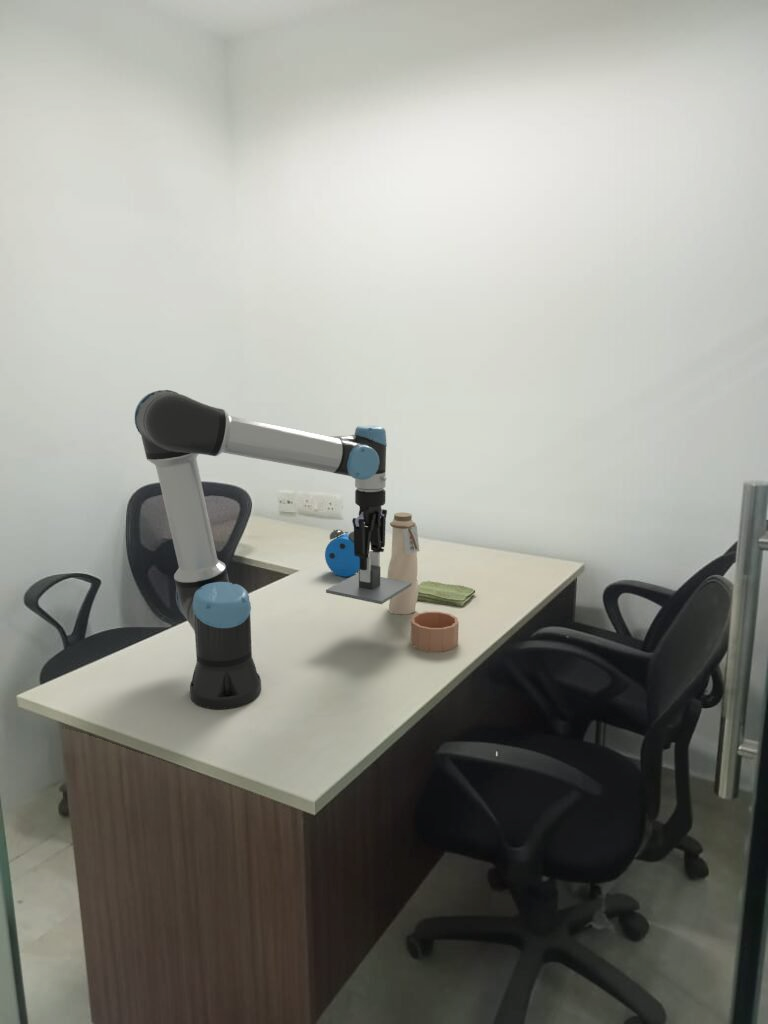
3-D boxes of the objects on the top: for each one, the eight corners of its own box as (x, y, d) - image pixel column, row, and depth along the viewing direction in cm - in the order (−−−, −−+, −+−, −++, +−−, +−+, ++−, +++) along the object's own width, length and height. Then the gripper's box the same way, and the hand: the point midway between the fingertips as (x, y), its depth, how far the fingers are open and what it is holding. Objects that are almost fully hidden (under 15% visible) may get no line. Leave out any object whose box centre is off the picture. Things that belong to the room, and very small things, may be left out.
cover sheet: (381, 604, 174) (381, 581, 172) (326, 592, 181) (325, 570, 180) (411, 585, 187) (412, 564, 186) (358, 575, 195) (358, 555, 193)
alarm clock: (368, 574, 237) (368, 530, 233) (360, 580, 231) (360, 535, 228) (332, 569, 241) (332, 526, 238) (324, 575, 236) (323, 530, 232)
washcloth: (463, 609, 208) (464, 599, 207) (406, 601, 214) (406, 590, 214) (476, 595, 219) (476, 585, 219) (421, 587, 226) (422, 577, 225)
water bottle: (427, 610, 205) (429, 515, 199) (406, 619, 199) (408, 520, 192) (400, 601, 212) (402, 509, 206) (379, 609, 206) (380, 514, 199)
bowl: (445, 655, 176) (446, 632, 175) (403, 645, 182) (403, 623, 180) (464, 638, 186) (465, 616, 185) (423, 629, 192) (423, 608, 190)
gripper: (366, 496, 169) (365, 591, 174) (399, 484, 184) (398, 572, 189) (339, 493, 173) (339, 585, 178) (374, 481, 187) (373, 567, 193)
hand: (369, 578), depth 183 cm, fingers closed on cover sheet, 4 cm apart
